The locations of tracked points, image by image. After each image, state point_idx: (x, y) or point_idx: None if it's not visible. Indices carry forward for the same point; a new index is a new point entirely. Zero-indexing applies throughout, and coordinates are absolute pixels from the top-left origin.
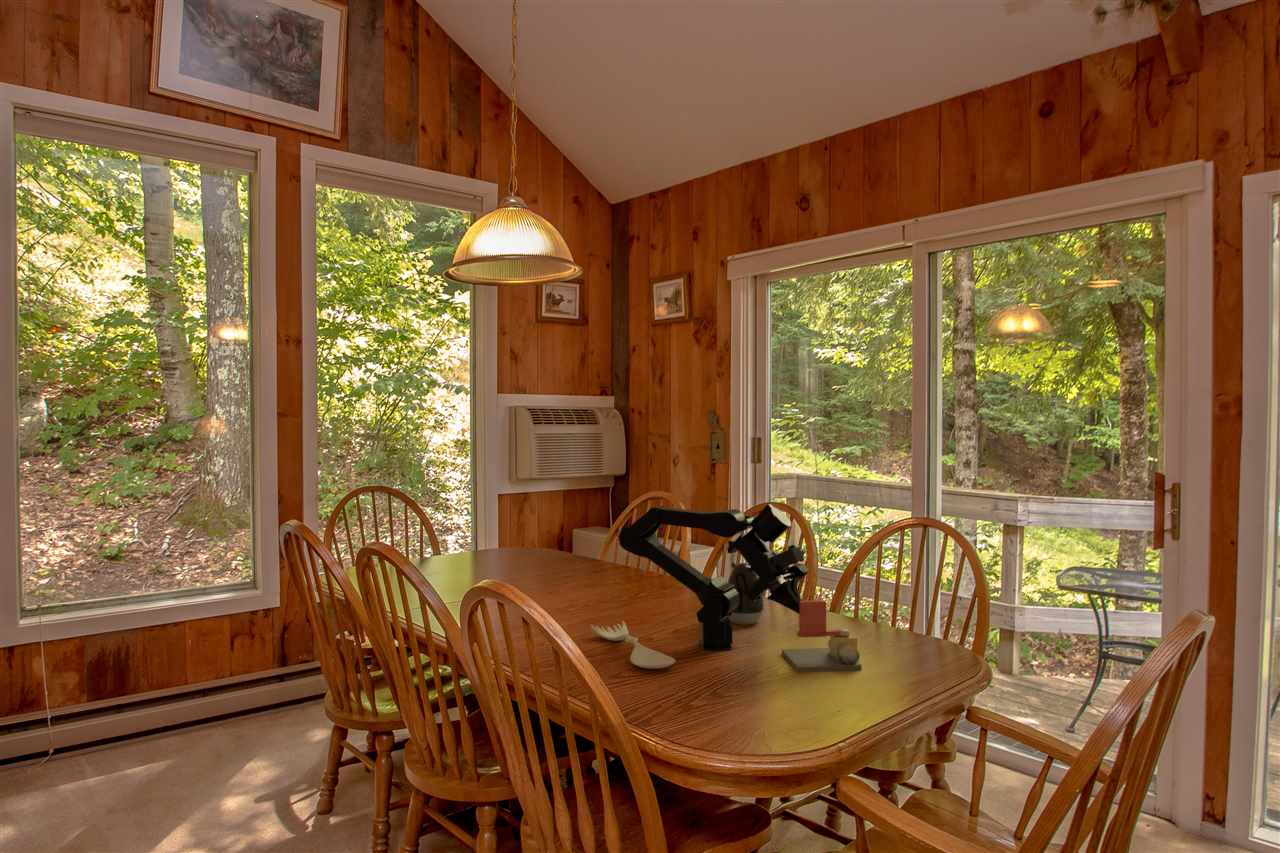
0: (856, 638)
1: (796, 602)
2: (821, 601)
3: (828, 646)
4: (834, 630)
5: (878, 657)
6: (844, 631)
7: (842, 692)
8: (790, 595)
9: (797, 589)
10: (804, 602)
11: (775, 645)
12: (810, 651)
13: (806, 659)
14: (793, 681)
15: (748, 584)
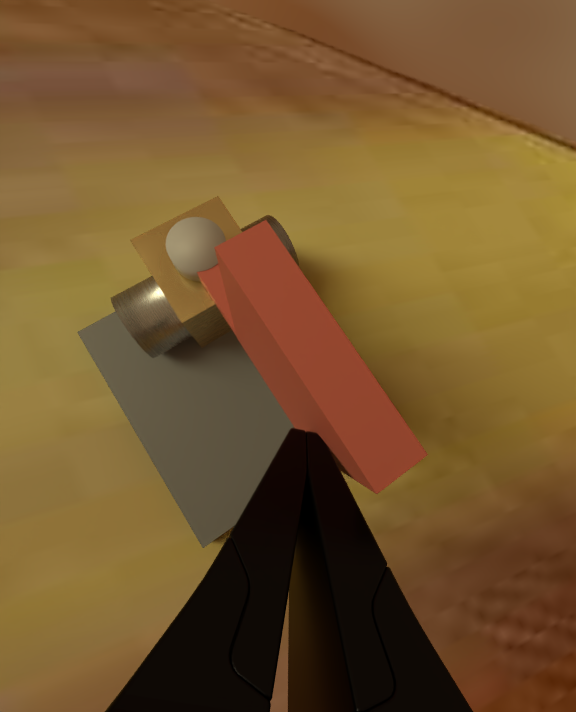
0: (219, 201)
1: (365, 524)
2: (288, 261)
3: (154, 357)
4: (219, 283)
5: (103, 211)
6: (219, 235)
7: (472, 259)
8: (431, 653)
9: (150, 662)
10: (402, 418)
11: (91, 614)
12: (180, 428)
13: (285, 415)
14: (464, 406)
15: None
